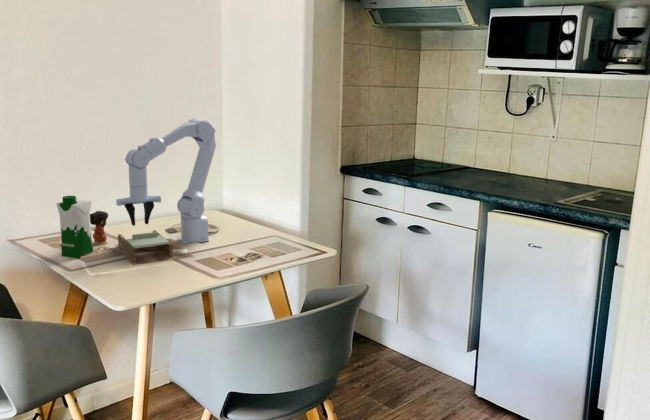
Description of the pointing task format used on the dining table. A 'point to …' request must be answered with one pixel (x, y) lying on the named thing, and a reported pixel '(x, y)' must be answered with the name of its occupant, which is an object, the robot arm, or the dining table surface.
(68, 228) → the milk carton
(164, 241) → the lid
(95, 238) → the figurine
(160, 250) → the brown wooden tray
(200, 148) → the robot arm
